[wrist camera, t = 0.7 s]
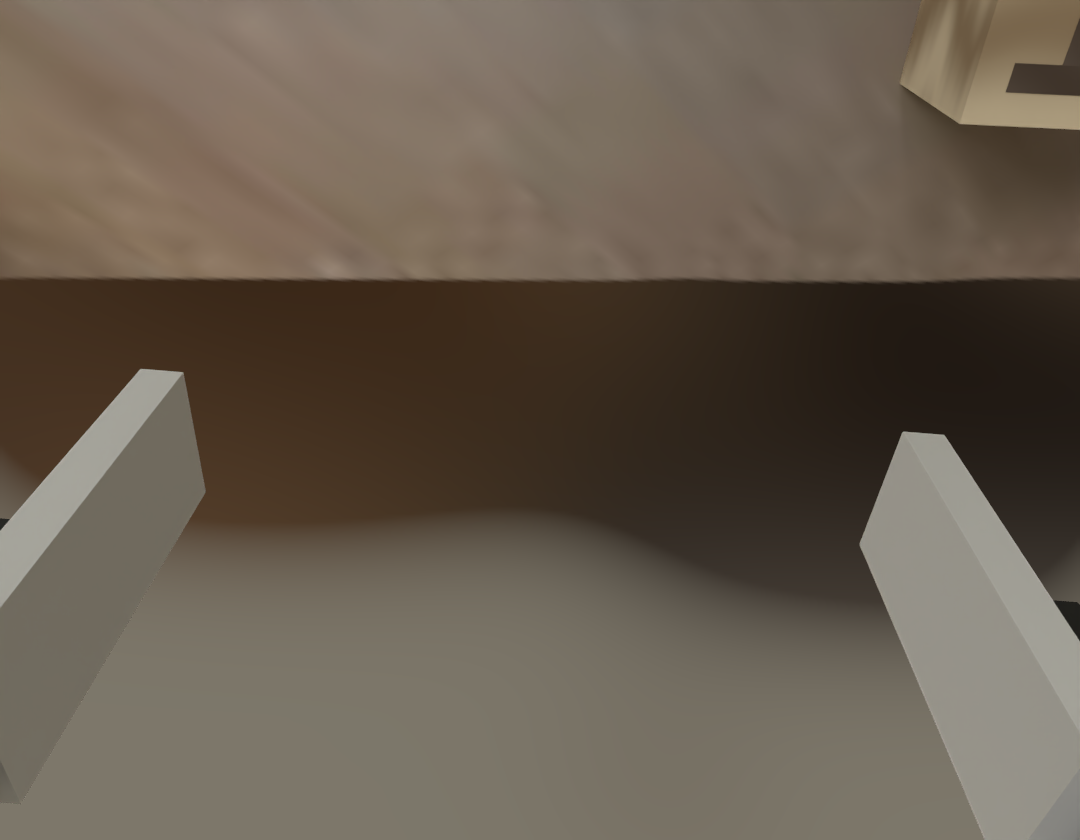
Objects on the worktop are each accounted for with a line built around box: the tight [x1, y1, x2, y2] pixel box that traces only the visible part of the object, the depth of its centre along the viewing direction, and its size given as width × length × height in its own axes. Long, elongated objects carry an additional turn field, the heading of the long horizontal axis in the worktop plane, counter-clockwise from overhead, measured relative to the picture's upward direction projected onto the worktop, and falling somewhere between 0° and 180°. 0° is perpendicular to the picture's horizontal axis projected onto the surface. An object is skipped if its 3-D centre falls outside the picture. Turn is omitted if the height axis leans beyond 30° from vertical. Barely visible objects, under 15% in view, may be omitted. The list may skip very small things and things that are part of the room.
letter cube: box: [900, 0, 1080, 130], centre depth 32 cm, size 7×7×7 cm
